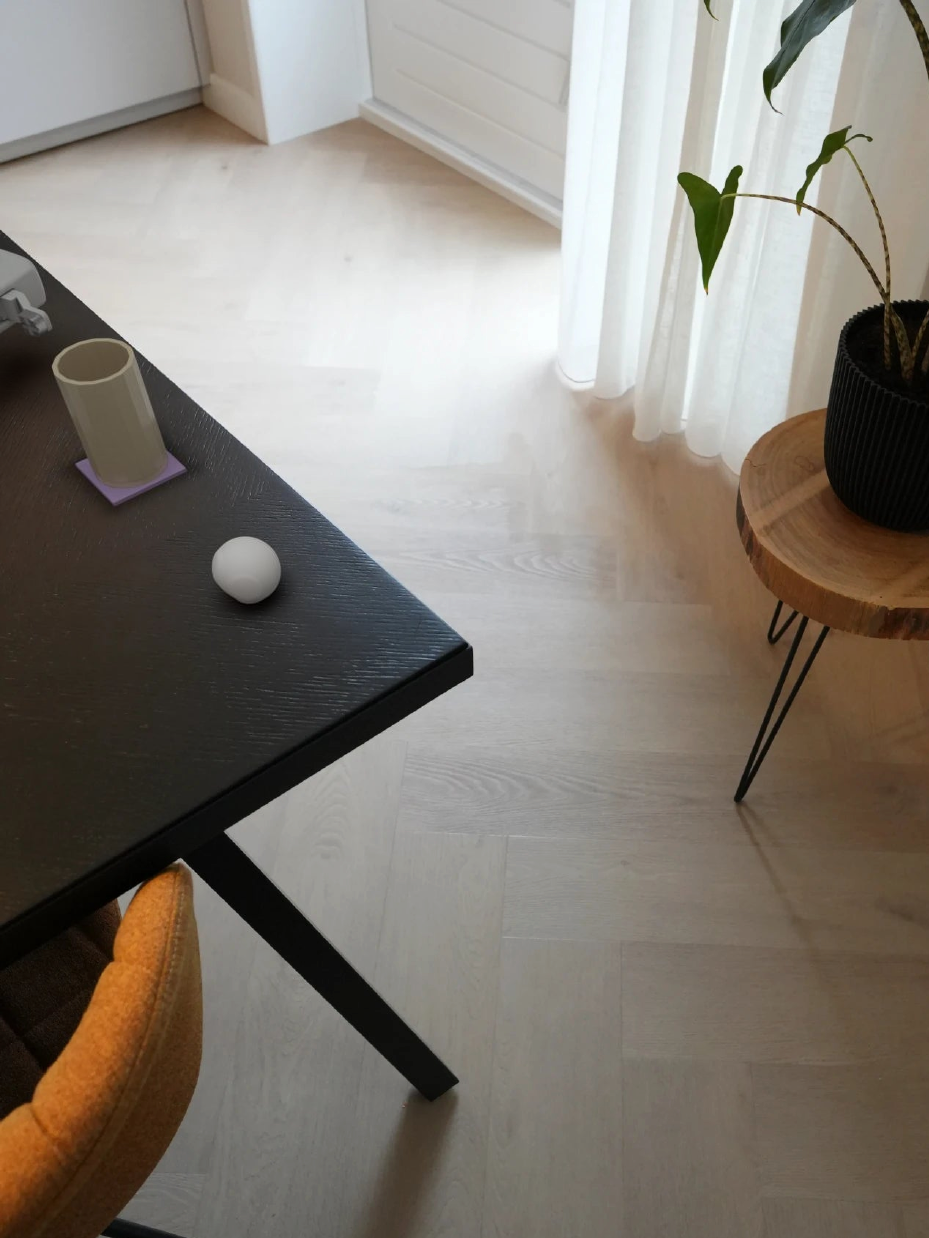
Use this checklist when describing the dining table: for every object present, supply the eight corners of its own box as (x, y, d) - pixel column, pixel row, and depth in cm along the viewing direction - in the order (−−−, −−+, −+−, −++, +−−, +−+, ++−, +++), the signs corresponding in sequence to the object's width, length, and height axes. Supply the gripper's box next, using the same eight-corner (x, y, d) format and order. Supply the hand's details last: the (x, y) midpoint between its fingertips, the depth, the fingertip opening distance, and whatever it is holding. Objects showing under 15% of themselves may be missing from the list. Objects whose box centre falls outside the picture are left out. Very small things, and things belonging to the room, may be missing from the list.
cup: (87, 489, 92) (43, 385, 84) (102, 442, 96) (62, 338, 88) (161, 487, 92) (125, 383, 85) (174, 441, 96) (140, 337, 88)
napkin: (114, 507, 91) (113, 503, 91) (76, 467, 95) (74, 463, 94) (187, 471, 94) (185, 468, 94) (147, 434, 97) (146, 430, 97)
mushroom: (218, 578, 86) (202, 529, 83) (282, 566, 87) (269, 517, 83) (224, 624, 83) (208, 575, 80) (290, 611, 84) (277, 562, 80)
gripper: (-251, 340, 86) (-120, 390, 83) (-47, 220, 98) (76, 259, 94) (-208, 409, 91) (-82, 460, 87) (-18, 287, 103) (100, 327, 99)
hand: (2, 355), depth 91 cm, fingers open, 8 cm apart
